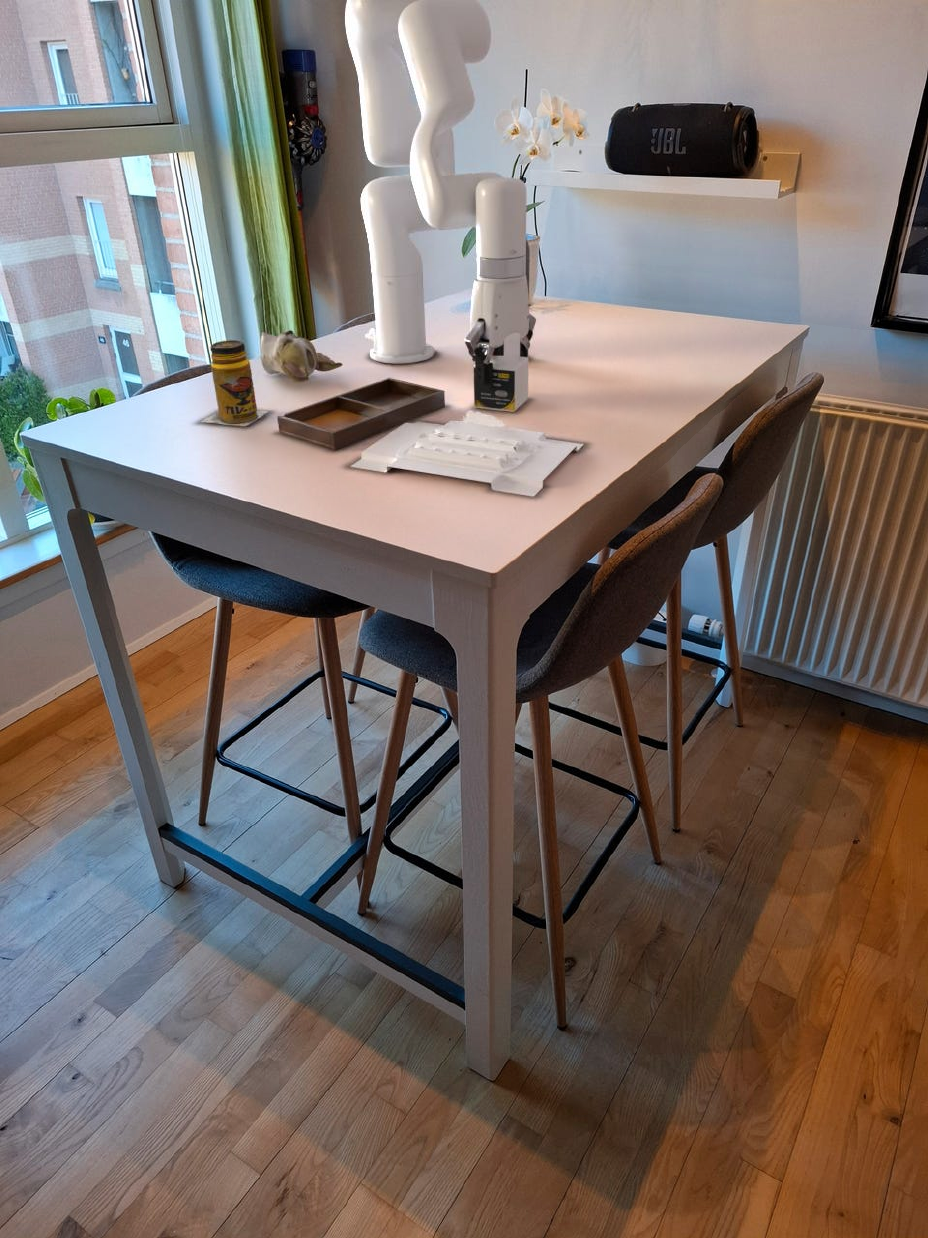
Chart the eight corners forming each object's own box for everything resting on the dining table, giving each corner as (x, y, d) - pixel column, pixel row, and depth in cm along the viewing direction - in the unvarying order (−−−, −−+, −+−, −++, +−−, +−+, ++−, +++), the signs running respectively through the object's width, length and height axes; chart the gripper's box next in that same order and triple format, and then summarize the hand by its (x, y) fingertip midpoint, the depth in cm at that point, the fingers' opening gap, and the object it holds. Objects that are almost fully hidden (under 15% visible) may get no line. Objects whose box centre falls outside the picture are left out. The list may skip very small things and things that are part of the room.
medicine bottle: (473, 408, 145) (472, 333, 139) (489, 395, 151) (488, 323, 145) (514, 412, 143) (514, 337, 137) (528, 399, 149) (529, 326, 142)
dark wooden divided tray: (279, 432, 138) (276, 416, 136) (390, 392, 154) (389, 377, 152) (335, 450, 131) (333, 432, 129) (445, 406, 147) (444, 390, 145)
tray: (534, 496, 115) (534, 469, 113) (350, 474, 126) (346, 449, 124) (584, 443, 130) (584, 419, 128) (416, 427, 141) (414, 404, 139)
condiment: (246, 427, 140) (234, 350, 134) (200, 422, 143) (186, 347, 136) (268, 412, 146) (258, 338, 140) (223, 408, 149) (211, 335, 142)
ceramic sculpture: (281, 317, 166) (343, 331, 159) (286, 362, 170) (345, 378, 164) (240, 330, 158) (302, 345, 151) (245, 377, 163) (306, 395, 156)
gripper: (515, 256, 144) (515, 363, 153) (445, 274, 132) (450, 388, 141) (554, 261, 139) (551, 370, 148) (485, 279, 128) (486, 397, 137)
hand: (501, 379), depth 145 cm, fingers closed on medicine bottle, 8 cm apart
